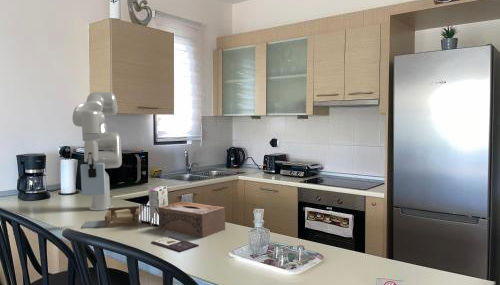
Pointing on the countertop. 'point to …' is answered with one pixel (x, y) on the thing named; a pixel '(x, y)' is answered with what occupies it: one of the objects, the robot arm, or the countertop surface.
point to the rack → (109, 218)
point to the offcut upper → (122, 213)
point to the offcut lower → (122, 219)
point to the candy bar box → (157, 199)
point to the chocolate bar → (175, 244)
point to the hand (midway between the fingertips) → (93, 176)
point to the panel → (93, 180)
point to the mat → (94, 224)
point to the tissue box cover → (192, 219)
